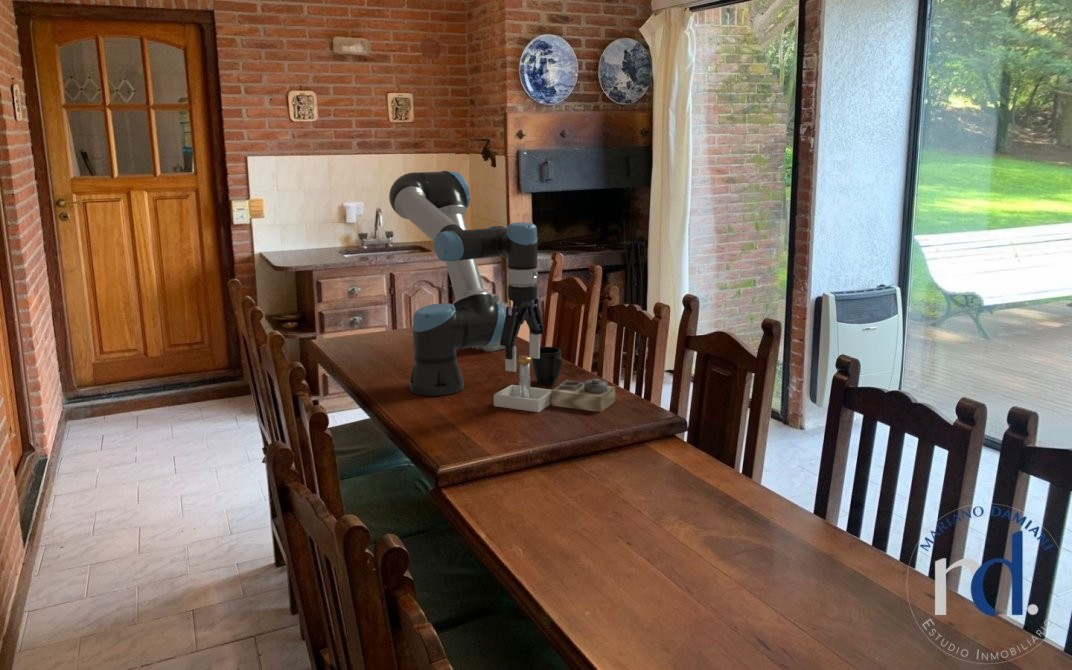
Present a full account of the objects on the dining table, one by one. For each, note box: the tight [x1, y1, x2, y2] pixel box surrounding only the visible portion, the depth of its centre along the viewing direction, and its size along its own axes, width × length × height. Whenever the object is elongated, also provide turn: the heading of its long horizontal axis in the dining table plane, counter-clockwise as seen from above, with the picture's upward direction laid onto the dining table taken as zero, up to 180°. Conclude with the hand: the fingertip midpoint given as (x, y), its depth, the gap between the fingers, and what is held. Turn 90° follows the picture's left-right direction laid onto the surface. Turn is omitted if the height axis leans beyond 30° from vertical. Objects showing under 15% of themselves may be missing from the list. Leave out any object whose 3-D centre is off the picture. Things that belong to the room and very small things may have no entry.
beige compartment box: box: [550, 378, 616, 413], centre depth 225 cm, size 14×10×7 cm
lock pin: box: [516, 355, 532, 399], centre depth 225 cm, size 4×4×12 cm
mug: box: [531, 346, 563, 386], centre depth 243 cm, size 8×12×10 cm
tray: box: [493, 384, 552, 413], centre depth 226 cm, size 13×10×3 cm
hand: (523, 364), depth 224 cm, fingers open, 13 cm apart
